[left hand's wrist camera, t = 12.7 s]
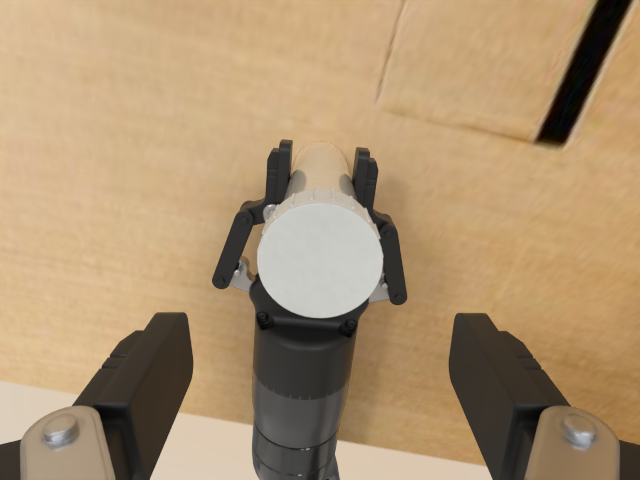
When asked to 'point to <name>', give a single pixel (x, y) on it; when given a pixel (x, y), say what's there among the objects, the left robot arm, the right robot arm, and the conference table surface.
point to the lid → (320, 254)
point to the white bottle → (320, 170)
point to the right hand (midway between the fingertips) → (324, 146)
